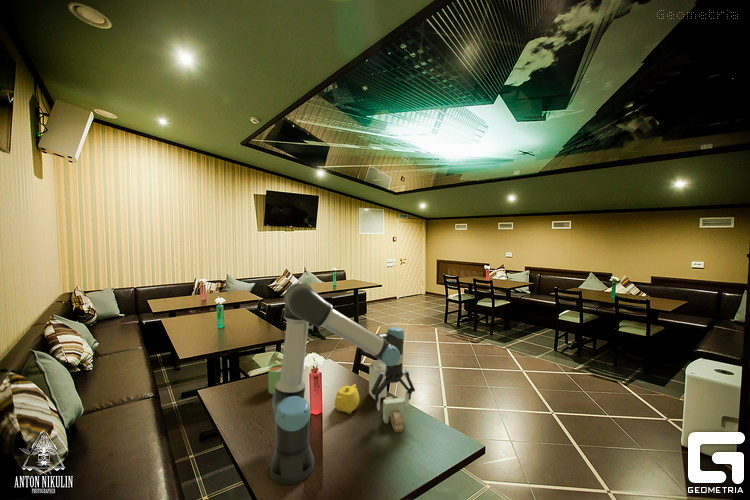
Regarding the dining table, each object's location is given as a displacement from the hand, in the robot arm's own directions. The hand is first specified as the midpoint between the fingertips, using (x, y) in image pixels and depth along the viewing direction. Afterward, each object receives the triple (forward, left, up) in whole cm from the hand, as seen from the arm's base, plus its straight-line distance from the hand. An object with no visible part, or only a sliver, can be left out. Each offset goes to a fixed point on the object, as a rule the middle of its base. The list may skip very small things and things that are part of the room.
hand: (392, 407), depth 138 cm
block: (0, 0, -6) cm, 6 cm away
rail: (0, 0, -6) cm, 6 cm away
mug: (+40, +55, -6) cm, 68 cm away
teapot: (+13, +20, -6) cm, 24 cm away
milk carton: (+23, +2, -6) cm, 24 cm away
